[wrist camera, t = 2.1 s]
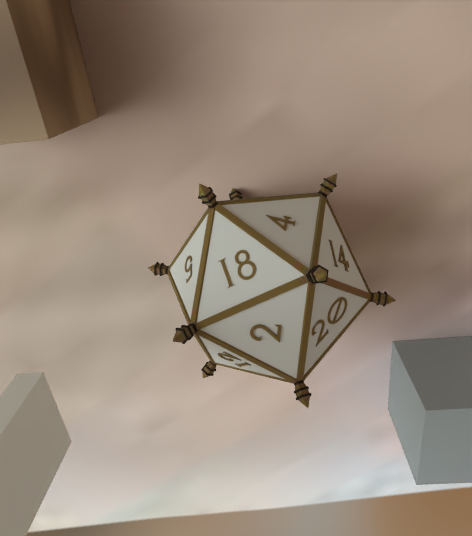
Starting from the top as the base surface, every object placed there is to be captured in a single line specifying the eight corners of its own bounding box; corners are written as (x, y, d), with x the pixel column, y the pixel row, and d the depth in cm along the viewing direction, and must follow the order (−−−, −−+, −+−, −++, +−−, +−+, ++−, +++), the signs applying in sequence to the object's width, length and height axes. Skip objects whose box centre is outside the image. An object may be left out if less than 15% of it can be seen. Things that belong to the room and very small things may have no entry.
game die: (267, 181, 23) (381, 89, 13) (334, 321, 23) (492, 332, 14) (111, 249, 20) (112, 198, 10) (190, 407, 20) (260, 495, 11)
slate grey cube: (392, 340, 23) (425, 410, 18) (488, 333, 22) (546, 404, 18) (387, 407, 25) (416, 484, 21) (474, 403, 25) (523, 480, 20)
